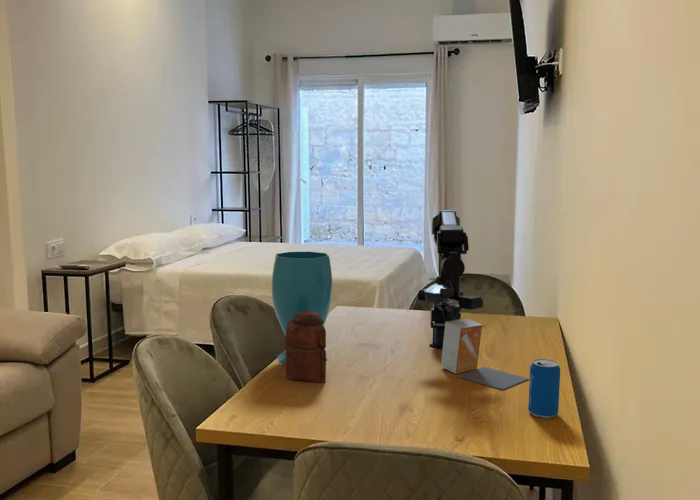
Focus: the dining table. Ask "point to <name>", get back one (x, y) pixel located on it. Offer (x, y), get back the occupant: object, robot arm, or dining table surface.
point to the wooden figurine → (306, 348)
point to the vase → (301, 286)
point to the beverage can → (544, 388)
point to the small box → (461, 345)
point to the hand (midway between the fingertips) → (448, 329)
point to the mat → (493, 378)
